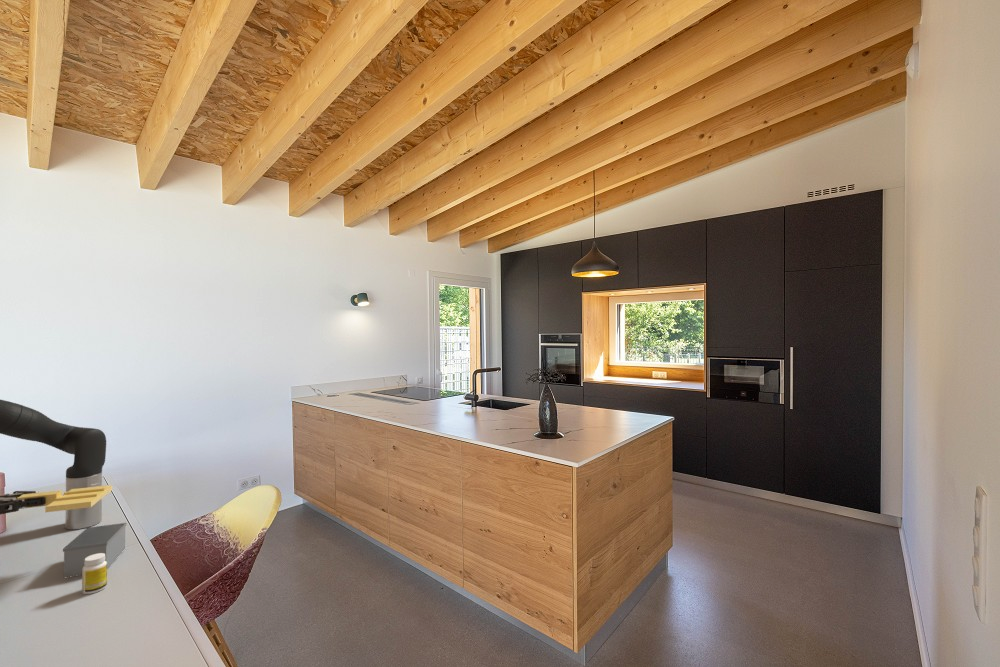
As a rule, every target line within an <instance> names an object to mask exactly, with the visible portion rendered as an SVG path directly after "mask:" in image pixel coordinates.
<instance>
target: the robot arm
mask: <svg viewBox="0 0 1000 667" xmlns="http://www.w3.org/2000/svg"><path fill="white" fill-rule="evenodd" d="M0 434H1V435H4V436H8V437H11V438H17V439H19V440H20V439H21V440H24V441H32V442H37V443H42V444H44V445H47V446H49V447H52V448H55V449H57V450H60V451H62V452H65V453H67V454H70V455H73V456H74V458H73V459H74V460H73V464H72V465H71V466H69V467H67V469H66V471H65V492H68V491H70V490H71V489H78V488H88V487H98V486H103V467H104V465H105V463H106V453H107V437H106V436H107V435H106V434H105V433H104V432H103V431H102V430H101V429H99V428H92V427H80V426H74V425H70V424H66V423H62V422H58V421H55V420H53V419H51V418H50V417H48V416H47V415H46V414H44V413H42V412H40V411H39V410H36V409H34V408H31V407H28V406H25V405H23V404H19V403H16V402H12V401H10V400H9V401H7V400H4V399H0ZM32 493H37V491H36V490H15V491H12V493H11V494H10V493H3V494H0V515H4V514H8V513H9V514H10V513H15V512H18V511H20V510H24V509H27V508H26V507H32V508H34V507H33V506H41V507H43V506H42V505H44V504H45V503H46V498H45V497H36V498H27V499H26V498H23V499H17V498H18V497H20V496H21V495H23V494H32ZM102 499H103V498H102ZM102 499H100V500H99V501H98V502H97V503H95V504H94V505H93V506H92V507H88V508H79V509H71V510H65V516H64V517H65V522H64V523H65V525H64V526H65V529H66V530H79V529H86V528H89V527H94V526H96V525H98V524H99V523H101V522H102V520H103V518H102V517H103V514H102V513H103V510H102V508H103V507H102V506H103V502H102V501H103V500H102Z"/></svg>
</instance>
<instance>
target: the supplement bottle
mask: <svg viewBox="0 0 1000 667" xmlns="http://www.w3.org/2000/svg"><path fill="white" fill-rule="evenodd" d="M84 565H85V566H84V567H83V569H82V575H81V578H82V579H81V580H82V581H81V582H82V583H81V584H82V585H81V588H82V589H81V592H82V594H83V595H90V594H91V595H92V594H95V593H99V592H100V591H102V590H104V589H106V588H107V585H108V570H107V562H106V561H105V554H104V553H98V554H94V555H91V556H88V557H86V558H85V560H84Z"/></svg>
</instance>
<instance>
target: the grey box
mask: <svg viewBox="0 0 1000 667" xmlns="http://www.w3.org/2000/svg"><path fill="white" fill-rule="evenodd" d="M126 526H127V522H122V523H114V524H106V525H99V526H98V525H97V526H90V527H86V528H84V530H83V531H81V532H80V533H79V534H78V535H77V536H75V537H74V538H73V540H71V541H70V542H69V543H68V544H66V545H65V546H64V547H63V548H62V552H63V578H64V577H67V578H71V577H70V576H74V577H77V576H76V575H80V576H82V569H83V567H84V566H85V565H84V560H85V558H86V557H88V556H91V555H94V554H98V553H104V554H105V561H106V562H107V569H108V570H109V568H111V567H112V565H113V564H114V563H115V562H114V561H116V560H117V559H118V558H119V557H120V556H121V555H122V554H123V552H124V551H125V550H126ZM124 549H125V550H124ZM123 550H124V551H123ZM122 551H123V552H122ZM120 554H121V555H120ZM119 555H120V556H119ZM118 556H119V557H118ZM117 557H118V558H117ZM116 558H117V559H116ZM113 562H114V563H113ZM112 563H113V564H112ZM111 564H112V565H111Z"/></svg>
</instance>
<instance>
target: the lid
mask: <svg viewBox="0 0 1000 667" xmlns="http://www.w3.org/2000/svg"><path fill="white" fill-rule="evenodd" d="M111 491H113V485H112V484H109V485H102V486H98V487H88V488H78V489H71V490H70V491H68V492H66V491H65V492H63V490H55V491H53V490H52V491H45V492H44V491H43V492H36V493H32V494H23V495H21V496H20V497H18V498H17V499H23V498H26V499H27V498H36V497H45V498H46V503H45V504H44V505H42V506H33V507H26V508H25V509H30V508H39V507H44V508H45V513H52V512H61V511H66V510H71V509H79V508H88V507H92V506H93V505H94V504H95V503H97V502H98V501H99V500H100V499H103V498H104V497H105V496H107V495H108V494H109V493H111ZM63 493H64V494H63Z"/></svg>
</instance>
